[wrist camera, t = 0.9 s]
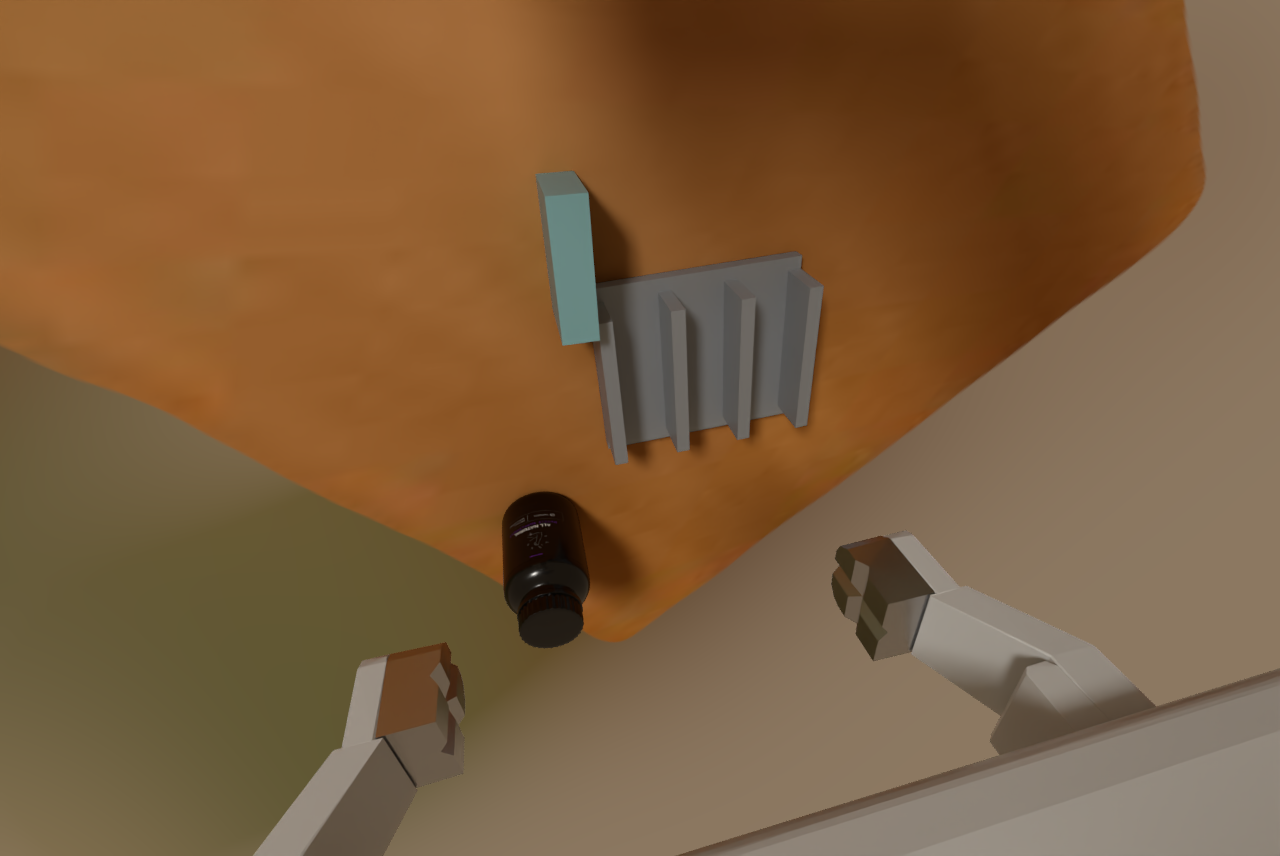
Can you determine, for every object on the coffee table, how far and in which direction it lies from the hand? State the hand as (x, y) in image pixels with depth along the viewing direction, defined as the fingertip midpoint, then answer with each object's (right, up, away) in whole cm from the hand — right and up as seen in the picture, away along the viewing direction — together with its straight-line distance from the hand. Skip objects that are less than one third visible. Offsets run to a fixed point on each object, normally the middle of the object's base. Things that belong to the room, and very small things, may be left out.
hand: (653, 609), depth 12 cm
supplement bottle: (-9, -4, +40) cm, 42 cm away
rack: (+4, +10, +34) cm, 36 cm away
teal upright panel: (-5, +16, +27) cm, 32 cm away
